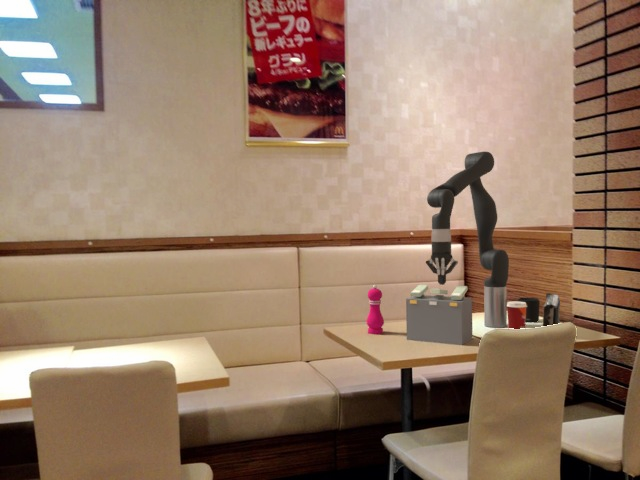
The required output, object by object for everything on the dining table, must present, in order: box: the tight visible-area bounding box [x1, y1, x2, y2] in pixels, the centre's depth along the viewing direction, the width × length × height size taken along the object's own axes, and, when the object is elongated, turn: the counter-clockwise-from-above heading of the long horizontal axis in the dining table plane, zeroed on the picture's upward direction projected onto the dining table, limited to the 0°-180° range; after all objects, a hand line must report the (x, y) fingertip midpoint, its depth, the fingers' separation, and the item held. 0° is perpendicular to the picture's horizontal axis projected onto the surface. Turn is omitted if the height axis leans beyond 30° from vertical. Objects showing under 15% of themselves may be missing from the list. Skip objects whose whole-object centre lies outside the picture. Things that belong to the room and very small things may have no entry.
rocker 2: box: [429, 288, 448, 295], centre depth 224 cm, size 9×4×2 cm, turn 148°
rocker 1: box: [410, 284, 429, 297], centre depth 229 cm, size 9×4×2 cm, turn 148°
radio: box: [542, 293, 561, 326], centre depth 232 cm, size 23×9×15 cm, turn 147°
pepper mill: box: [366, 284, 385, 335], centre depth 240 cm, size 7×7×20 cm
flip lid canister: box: [506, 300, 527, 329], centre depth 223 cm, size 8×8×14 cm
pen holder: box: [517, 297, 541, 323], centre depth 260 cm, size 9×9×10 cm
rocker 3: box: [449, 285, 468, 300], centre depth 220 cm, size 9×4×2 cm, turn 148°
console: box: [405, 293, 473, 346], centre depth 225 cm, size 13×22×17 cm, turn 58°
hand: (441, 284), depth 227 cm, fingers closed
